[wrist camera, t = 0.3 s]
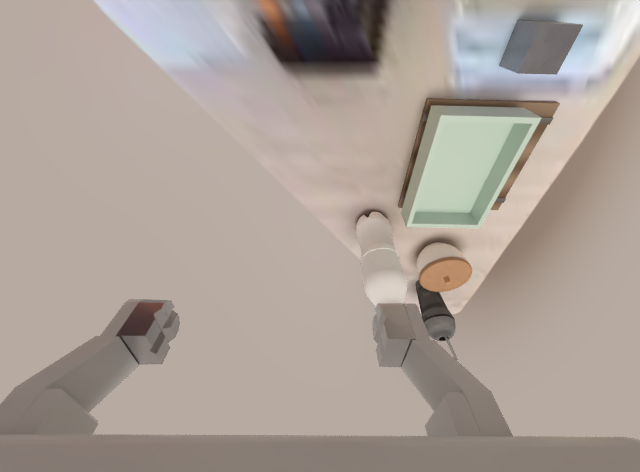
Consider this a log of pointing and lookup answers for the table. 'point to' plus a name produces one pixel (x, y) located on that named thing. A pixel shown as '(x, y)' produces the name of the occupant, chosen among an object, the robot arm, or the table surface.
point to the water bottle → (380, 260)
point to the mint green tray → (464, 163)
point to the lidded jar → (442, 267)
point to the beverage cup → (435, 315)
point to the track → (536, 107)
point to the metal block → (539, 46)
